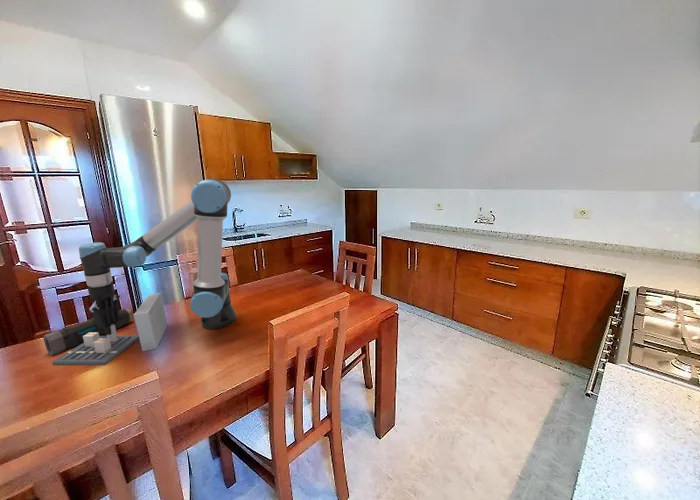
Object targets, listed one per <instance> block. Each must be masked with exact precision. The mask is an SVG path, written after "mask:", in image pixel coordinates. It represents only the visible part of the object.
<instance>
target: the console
mask: <svg viewBox="0 0 700 500" xmlns="http://www.w3.org/2000/svg"><path fill="white" fill-rule="evenodd" d="M99 337H100V338H107V335H102V336H99ZM117 337H118V340H116V341H110V344H111V349H109V350H108V351H107V352H105V353H96V352H95V347H94V346H93V347H85V344H84V342H83V343H80V344H78V345H76V347H73V348H71V349H70V350H69V351H68V352H66V353H64V354H63V355H61V356H59V357H58V358H56V359H55V360H53V361H52V365H54V366H55V365H56V366H57V365H58V366H61V365H62V366H64V365H65V366H69V365H70V366H71V365H72V366H76V365H78V366H83V365H84V366H85V365H87V366H92V365H93V366H95V365H97V366H99V365H101V366H102V365H105V366H106V365H107V364H108V363H109V362H111V360H114V359H115V358H116V357H118V356H119V355H120V354H122V352H124V351H125V350H127V349H128V348H130V346H132V345H133V344H134V343H136V342H138V340H140V339H139V335H117Z"/></svg>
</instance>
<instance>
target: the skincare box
mask: <svg viewBox="0 0 700 500" xmlns="http://www.w3.org/2000/svg"><path fill="white" fill-rule="evenodd" d="M133 317H134V318H133V319H134V321H135V322H134V323H135V325H136V326H135V327H136V330H137V334H138V335H137V336H139V339H138V340H139V342H140V343H139V344H140V346H141V351H142V352H146V351H150V350H151V351H152V350H156V349H158V347H159V344H160V343H161V340H162V338H163V336H164V334H165V331H166V330H167V328H168V325H169V323H168V319H167V315H166V311H165V306H164V301H163V298H162V292H157V293H151V294H147V296H146V298H145V299H144V300H143V301H142V303H141V304H140V305H139V307H138V308H137V310H136V311H135V313H134V314H133Z"/></svg>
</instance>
